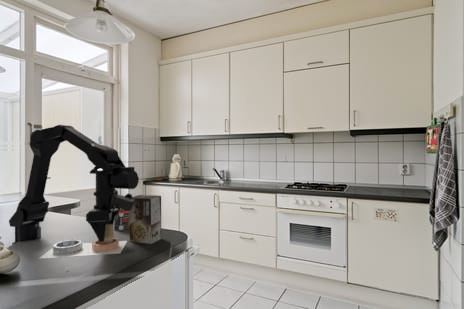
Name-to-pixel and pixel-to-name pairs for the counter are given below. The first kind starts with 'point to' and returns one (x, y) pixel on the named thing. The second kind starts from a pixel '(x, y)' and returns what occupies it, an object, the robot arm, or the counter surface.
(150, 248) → the counter surface
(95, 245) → the terracotta socket
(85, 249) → the socket board
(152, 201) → the coffee box
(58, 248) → the grey ring
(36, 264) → the counter surface
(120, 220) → the supplement bottle
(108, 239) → the banded peg
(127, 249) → the counter surface
